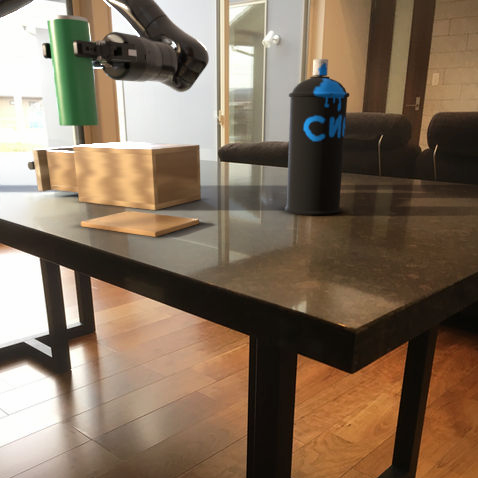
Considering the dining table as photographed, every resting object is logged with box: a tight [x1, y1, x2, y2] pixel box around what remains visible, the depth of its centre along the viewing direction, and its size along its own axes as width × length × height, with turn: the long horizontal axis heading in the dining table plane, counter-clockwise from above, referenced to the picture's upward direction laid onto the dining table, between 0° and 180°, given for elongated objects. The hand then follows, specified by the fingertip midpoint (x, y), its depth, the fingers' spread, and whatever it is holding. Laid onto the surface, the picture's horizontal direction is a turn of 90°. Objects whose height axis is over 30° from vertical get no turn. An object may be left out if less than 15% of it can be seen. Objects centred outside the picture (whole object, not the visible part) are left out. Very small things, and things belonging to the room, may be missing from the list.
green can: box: [46, 14, 99, 127], centre depth 83 cm, size 6×6×16 cm
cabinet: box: [72, 141, 202, 211], centre depth 83 cm, size 16×12×9 cm
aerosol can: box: [284, 58, 350, 216], centre depth 73 cm, size 8×8×20 cm
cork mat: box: [80, 210, 200, 238], centre depth 66 cm, size 12×9×1 cm
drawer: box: [27, 145, 78, 193], centre depth 89 cm, size 19×11×7 cm, turn 60°
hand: (59, 49), depth 80 cm, fingers closed on green can, 6 cm apart
